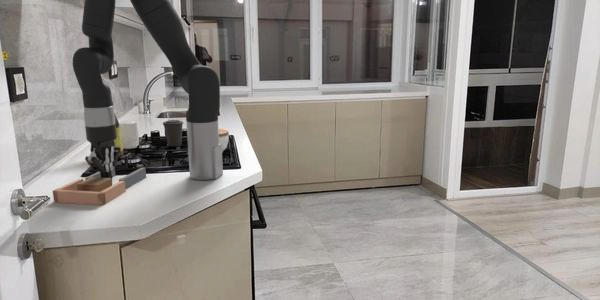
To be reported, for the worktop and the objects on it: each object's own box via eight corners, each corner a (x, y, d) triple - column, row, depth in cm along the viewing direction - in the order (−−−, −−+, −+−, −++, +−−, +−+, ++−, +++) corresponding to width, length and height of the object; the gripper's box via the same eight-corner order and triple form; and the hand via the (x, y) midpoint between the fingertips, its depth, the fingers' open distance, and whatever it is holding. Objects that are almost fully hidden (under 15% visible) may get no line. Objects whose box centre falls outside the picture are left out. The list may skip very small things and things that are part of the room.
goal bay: (125, 191, 114) (124, 181, 113) (102, 205, 104) (101, 193, 104) (80, 188, 116) (79, 178, 116) (54, 202, 106) (52, 190, 106)
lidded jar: (226, 155, 153) (225, 130, 150) (197, 155, 153) (195, 129, 151) (231, 148, 163) (230, 124, 161) (204, 148, 163) (202, 124, 161)
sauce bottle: (127, 154, 154) (121, 100, 149) (114, 158, 148) (108, 102, 143) (113, 153, 156) (107, 99, 151) (100, 157, 150) (93, 102, 145)
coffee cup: (186, 146, 166) (184, 121, 164) (164, 147, 164) (162, 122, 161) (184, 142, 174) (182, 118, 171) (163, 143, 171) (161, 119, 169)
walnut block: (113, 192, 115) (111, 178, 114) (99, 199, 109) (97, 185, 108) (93, 190, 116) (91, 177, 115) (78, 198, 110) (76, 183, 109)
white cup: (133, 149, 161) (130, 124, 158) (114, 148, 162) (112, 123, 160) (144, 145, 168) (142, 120, 166) (126, 144, 170) (124, 119, 168)
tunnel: (146, 177, 127) (145, 167, 126) (124, 190, 115) (122, 179, 115) (111, 175, 129) (110, 166, 128) (86, 188, 117) (85, 177, 116)
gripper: (97, 128, 106) (104, 192, 110) (126, 119, 119) (132, 177, 123) (70, 127, 107) (79, 190, 112) (102, 118, 120) (109, 176, 124)
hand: (107, 183), depth 117 cm, fingers closed
